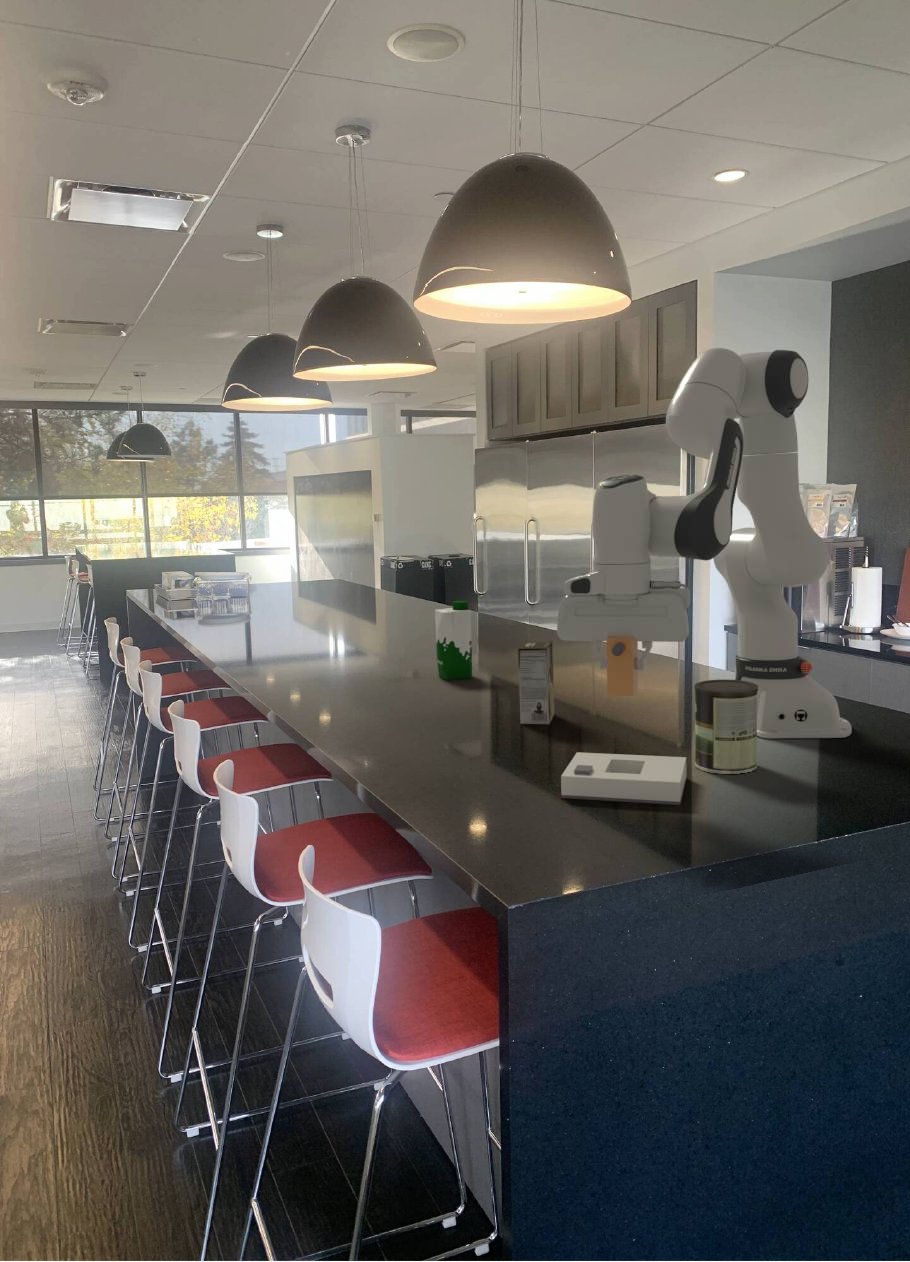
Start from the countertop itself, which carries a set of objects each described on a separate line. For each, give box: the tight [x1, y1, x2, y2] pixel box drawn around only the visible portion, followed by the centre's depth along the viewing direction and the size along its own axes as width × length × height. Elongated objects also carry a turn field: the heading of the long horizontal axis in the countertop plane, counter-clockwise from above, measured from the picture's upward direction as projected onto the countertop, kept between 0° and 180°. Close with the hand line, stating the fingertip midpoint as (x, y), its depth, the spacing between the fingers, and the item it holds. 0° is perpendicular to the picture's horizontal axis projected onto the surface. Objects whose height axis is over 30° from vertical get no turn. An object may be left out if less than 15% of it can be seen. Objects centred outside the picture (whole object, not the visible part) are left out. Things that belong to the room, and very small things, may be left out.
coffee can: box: [694, 679, 758, 775], centre depth 160 cm, size 10×10×14 cm
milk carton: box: [434, 600, 473, 681], centre depth 249 cm, size 9×9×20 cm
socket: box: [560, 751, 687, 806], centre depth 151 cm, size 18×14×4 cm
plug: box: [606, 637, 639, 697], centre depth 147 cm, size 4×9×9 cm, turn 162°
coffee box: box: [517, 640, 555, 725], centre depth 198 cm, size 9×6×16 cm
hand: (622, 669), depth 148 cm, fingers closed on plug, 4 cm apart
